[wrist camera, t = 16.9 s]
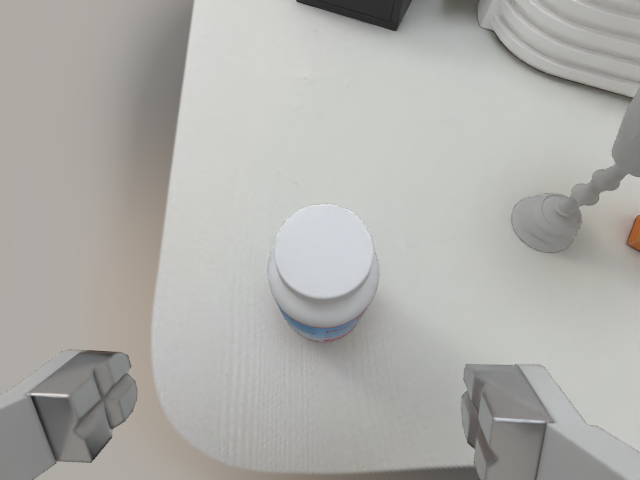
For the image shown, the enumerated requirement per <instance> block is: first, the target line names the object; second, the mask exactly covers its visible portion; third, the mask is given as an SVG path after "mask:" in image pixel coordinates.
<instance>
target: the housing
mask: <svg viewBox="0 0 640 480" xmlns="http://www.w3.org/2000/svg"><path fill="white" fill-rule="evenodd" d="M478 20H479V24H480V27H483V28H486V29H490V30H494V31H495V33H496V34H497V36H498V38H499V39H500V40H501V42H502V43H503V44H504V45H505V46H506V47H507V48H508V49H509V50H510V51H511V52H512V53H513V54H514V55H515V56H517V57H518V58H519V59H521V60H522V61H524V62H525V63H527V64H529V65H531V66H532V67H534V68H536V69H538V70H541V71H543V72H545V73H548V74H551V75H554V76H557V77H561V78H564V79H568V80H571V81H575V82H578V83H582V84H586V85H589V86H593V87H596V88H600V89H603V90H607V91H610V92H614V93H618V94H621V95H625V96H628V97H632V98H634V96H635V94H636V92H637V90H638V89H639V87H640V0H479V3H478Z"/></svg>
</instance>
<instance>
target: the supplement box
mask: <svg viewBox="0 0 640 480" xmlns="http://www.w3.org/2000/svg"><path fill="white" fill-rule="evenodd" d="M627 244H628V245H629V246H631V247H633V248H635V249H637V250H639V251H640V215H639V216H637V218H636V221H635V223H634V226H633V229H632V232H631V235H630V237H629V240H628V243H627Z"/></svg>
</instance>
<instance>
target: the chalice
mask: <svg viewBox="0 0 640 480" xmlns="http://www.w3.org/2000/svg"><path fill="white" fill-rule="evenodd" d="M612 157H613V159H614V161H615V163H616V164H615V165H613V166H611V167H609V168H607V169H601V170H597V171H595V172H594V173H593V176H592V180H591V182H590V183H588V184H583V183H581V184H576V185H575V186H574V187H573V188H572V195H571V196H570V197H567V196H565V195H561V194H555V193H546V194H543V195H537V196H535V197H528V198H525V199H523V200H521V201H520V202H519V203H518V204H517V205H515V207H514V210H513V212H512V224H513V227H514V230H515V232H516V233H517V235H518V236H519V238H520V239H521V240H522V241H523V242H525V243H526V244H527V245H528V246H530V247H532V248H534V249H536V250H538V251H543V252H548V253H551V252H559V251H562V250H564V249H566V248H567V247H568V246H569V245H570V244H571V243H572V242H573V240H574V237H575V236H576V234H577V232H578V230H579V229H580V226H581V223H582V215H581V212H580V209H579V206H582V205H587V206H590V205H594V204H596V203H597V202H598V200H599V194H600V192H602V191H606V190H607V191H612V190H615V189H617V188H618V187H619V184H620V181H621V180H622V179H623V178H624V177H625V176H626V175H627V174H631V175H633V176H636V177H640V87H639V89H638V90H637V92H636V94H635V96H634V98H633V99H632V101H631V103H630V105H629V106H628V108H627V111H626V113H625V115H624V118H623V120H622V123H621V126H620V129H619V131H618V134H617V137H616V140H615V143H614V145H613V148H612Z"/></svg>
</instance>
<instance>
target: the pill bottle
mask: <svg viewBox="0 0 640 480" xmlns="http://www.w3.org/2000/svg"><path fill="white" fill-rule="evenodd" d="M268 281H269V285H270V289H271V292H272V294H273V297H274V299H275V301H276V303H277V304H278V306H279V308H280V310H281V312H282V314H283V316H284V318H285V320H286V321H287V323H288V324H289V326H290V327H291V328H292V329H293V330H294V331H295V332H297V333H298V334H300V335H301V336H303V337H305V338H308V339H310V340H314V341H319V342H329V341H334V340H337V339H340V338H342V337H344V336H345V335H347V334H348V333H349V332H350V331H351V330H352V329H353V328H354V327H355V326H356V325H357V323H358V322H359V320H360V319H361V317H362V315H363V314H364V312H365V311H366V309H367V308H368V306H369V304H370V303H371V301H372V299H373V297H374V295H375V292H376V290H377V286H378V281H379V264H378V259H377V256H376V253H375V251H374V244H373V239H372V236H371V234H370V232H369V230H368V228H367V226H366V225H365V223H364V222H363V221H362V220H361V219H360V218H359V217H358V216H357V215H356V214H354V213H353V212H351V211H350V210H348V209H346V208H343V207H341V206H337V205H333V204H315V205H310V206H307V207H304V208H302V209H300V210H298V211H296V212H295V213H293V214H292V215H291V216H290V217H289V218H288V219H287V220H286V221H285V222H284V223H283V224H282V226H281V228H280V229H279V231H278V234H277V236H276V240H275V244H274V248H273V250H272V252H271V254H270V258H269V262H268Z"/></svg>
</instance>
